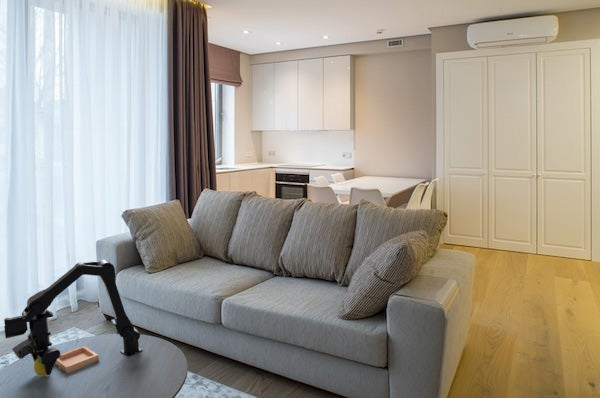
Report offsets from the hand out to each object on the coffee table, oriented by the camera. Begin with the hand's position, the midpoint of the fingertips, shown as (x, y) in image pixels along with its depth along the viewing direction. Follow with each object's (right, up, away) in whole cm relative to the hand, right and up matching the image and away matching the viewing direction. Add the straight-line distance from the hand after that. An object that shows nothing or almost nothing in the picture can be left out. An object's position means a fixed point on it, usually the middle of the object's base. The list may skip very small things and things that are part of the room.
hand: (43, 370), depth 160 cm
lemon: (0, -2, 0) cm, 2 cm away
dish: (+7, -1, +10) cm, 12 cm away
